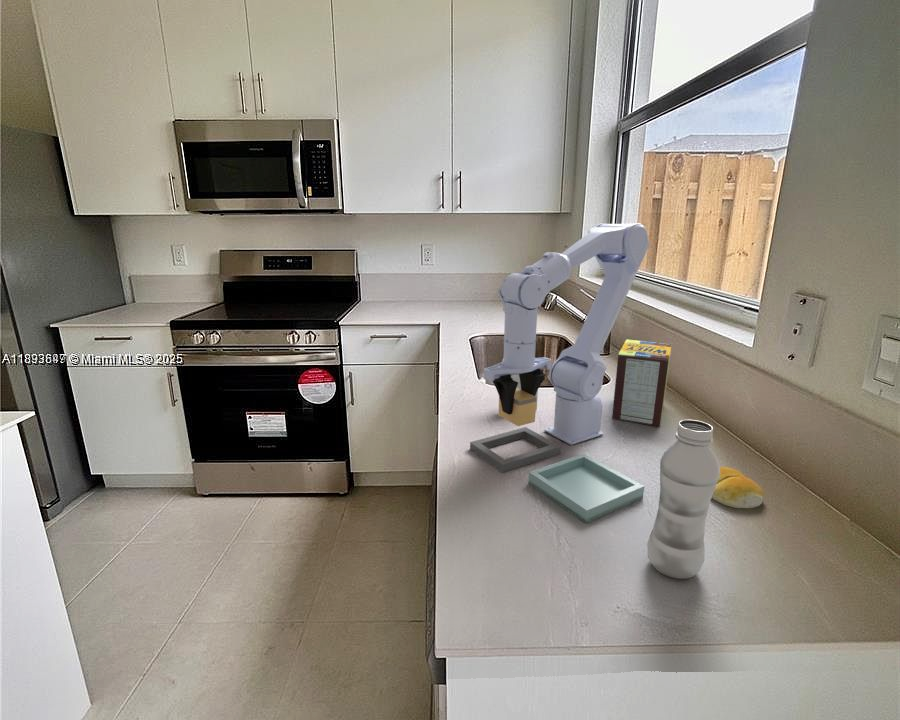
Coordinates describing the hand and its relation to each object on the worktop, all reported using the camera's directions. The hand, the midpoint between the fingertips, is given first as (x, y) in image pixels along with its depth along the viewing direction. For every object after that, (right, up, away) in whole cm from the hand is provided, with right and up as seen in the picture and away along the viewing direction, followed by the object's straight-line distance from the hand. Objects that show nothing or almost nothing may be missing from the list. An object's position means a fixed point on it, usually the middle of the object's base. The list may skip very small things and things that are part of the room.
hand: (516, 410), depth 89 cm
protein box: (+32, -3, +22) cm, 39 cm away
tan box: (0, -2, 0) cm, 2 cm away
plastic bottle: (+16, -18, -29) cm, 37 cm away
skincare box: (+5, -3, +23) cm, 24 cm away
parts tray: (+10, -12, -11) cm, 19 cm away
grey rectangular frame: (0, -8, +2) cm, 9 cm away
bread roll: (+34, -13, -12) cm, 38 cm away
